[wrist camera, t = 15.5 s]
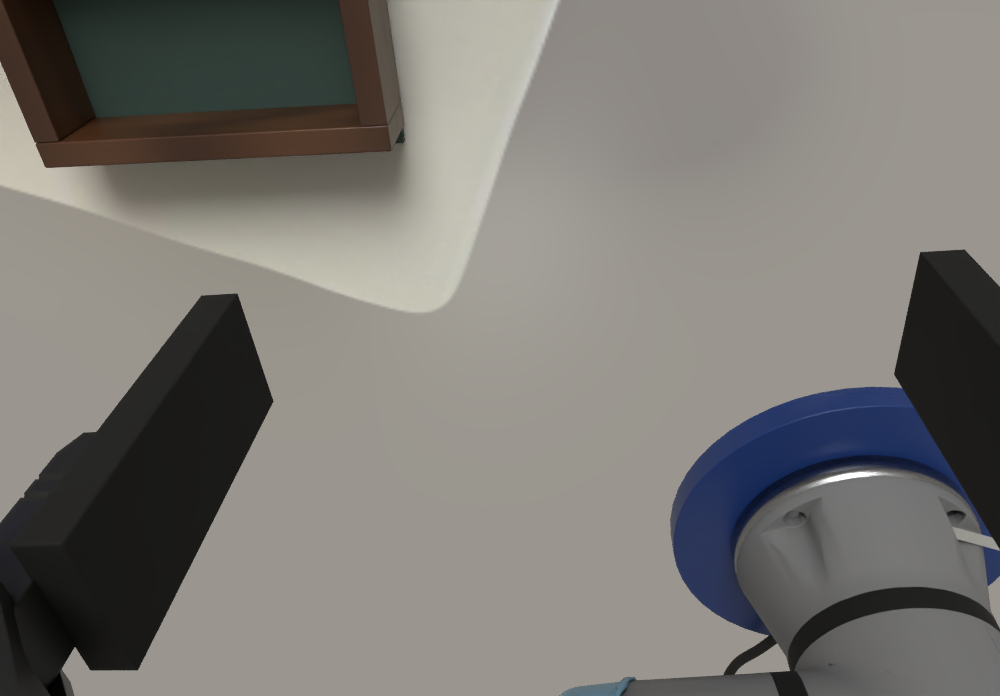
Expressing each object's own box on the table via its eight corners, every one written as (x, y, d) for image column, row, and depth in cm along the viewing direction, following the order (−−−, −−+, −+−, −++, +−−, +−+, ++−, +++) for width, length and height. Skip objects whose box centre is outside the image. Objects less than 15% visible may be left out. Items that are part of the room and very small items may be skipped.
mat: (404, 140, 38) (403, 143, 38) (97, 156, 40) (93, 159, 39) (362, -148, 31) (359, -148, 31) (-7, -116, 33) (-13, -115, 33)
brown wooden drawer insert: (368, -127, 32) (348, -120, 29) (404, 125, 37) (391, 151, 35) (-10, -96, 33) (-64, -87, 30) (82, 141, 39) (45, 168, 36)
